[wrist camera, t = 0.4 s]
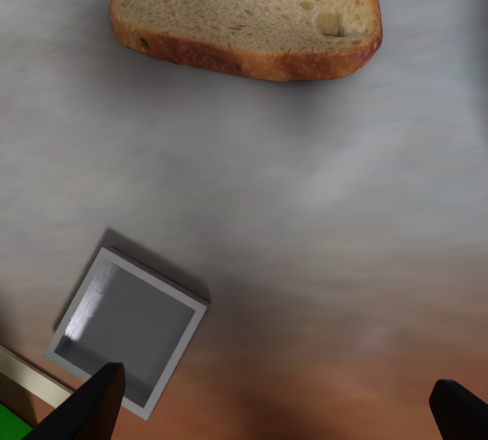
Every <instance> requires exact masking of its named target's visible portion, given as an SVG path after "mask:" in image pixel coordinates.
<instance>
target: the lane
mask: <svg viewBox="0 0 488 440" xmlns="http://www.w3.org/2000/svg"><path fill="white" fill-rule="evenodd" d="M0 372H1V373H3V374H4V375H6V376H7V377H9V378H10V379H12V380H13V381H15V382H16V383H18V384H19V385H21V386H22V387H24V388H26V389H27V390H29V391H30V392H32V393H33V394H35V395H36V396H38V397H39V398H41V399H42V400H44V401H46V402H47V403H49V404H50V405H52V406H53V407H55V408H57V407H58V406H59V405H60V404H61V403H62V402H63V401H65V400H66V399H67V398H68V397H69V396H70V395H71V394H72V393H74V392H73V391H71V390H69V389H68V388H66V387H65V386H63V385H62V384H60V383H58V382H57V381H55V380H54V379H52V378H51V377H49V376H48V375H46V374H44V373H43V372H41V371H40V370H38V369H37V368H35V367H33V366H32V365H30V364H29V363H27V362H26V361H24V360H22V359H21V358H19V357H18V356H16V355H15V354H13V353H12V352H10V351H8V350H7V349H5V348H4V347H2V346H1V345H0Z"/></svg>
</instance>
